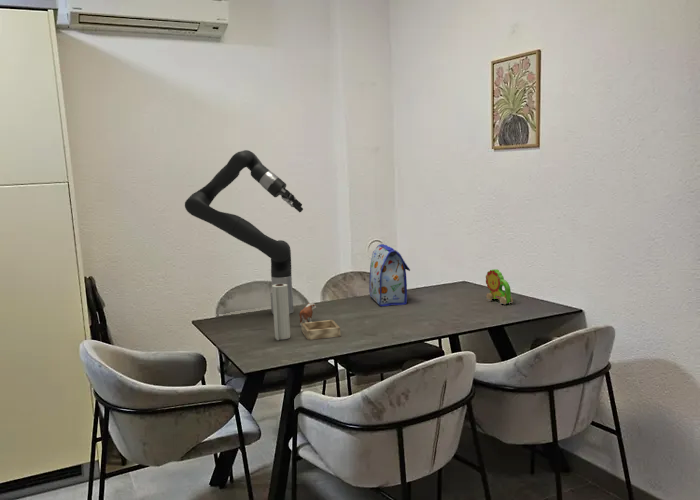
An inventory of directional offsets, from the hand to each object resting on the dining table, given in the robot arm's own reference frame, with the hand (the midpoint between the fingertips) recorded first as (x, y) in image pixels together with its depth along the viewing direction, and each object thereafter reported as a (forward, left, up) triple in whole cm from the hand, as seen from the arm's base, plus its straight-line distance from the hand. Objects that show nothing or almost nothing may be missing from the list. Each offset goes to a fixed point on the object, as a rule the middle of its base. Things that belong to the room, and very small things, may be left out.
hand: (301, 208), depth 262 cm
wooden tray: (+14, -17, -49) cm, 53 cm away
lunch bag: (+24, +44, -49) cm, 70 cm away
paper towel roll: (+1, -26, -49) cm, 56 cm away
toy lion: (+75, +51, -49) cm, 103 cm away
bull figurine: (+2, -3, -49) cm, 49 cm away
